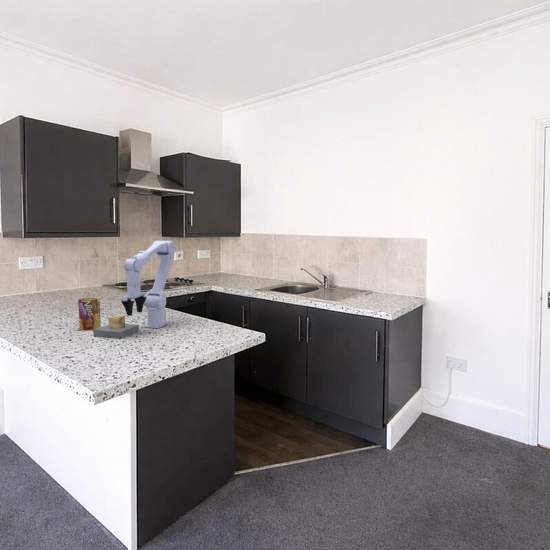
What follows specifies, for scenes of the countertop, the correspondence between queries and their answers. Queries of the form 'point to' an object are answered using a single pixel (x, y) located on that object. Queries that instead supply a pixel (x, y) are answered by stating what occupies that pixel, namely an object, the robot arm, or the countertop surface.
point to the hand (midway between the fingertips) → (134, 313)
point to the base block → (116, 331)
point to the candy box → (89, 313)
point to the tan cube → (116, 322)
